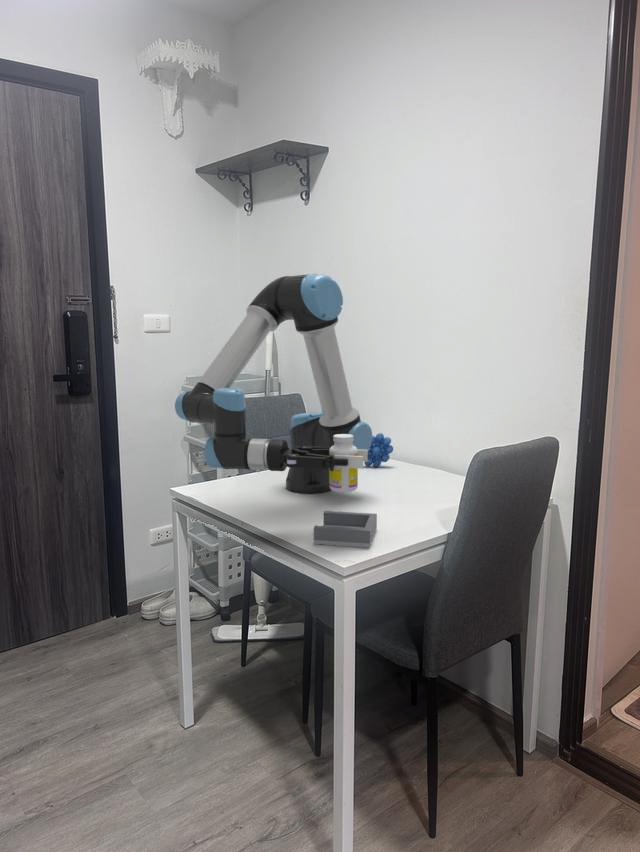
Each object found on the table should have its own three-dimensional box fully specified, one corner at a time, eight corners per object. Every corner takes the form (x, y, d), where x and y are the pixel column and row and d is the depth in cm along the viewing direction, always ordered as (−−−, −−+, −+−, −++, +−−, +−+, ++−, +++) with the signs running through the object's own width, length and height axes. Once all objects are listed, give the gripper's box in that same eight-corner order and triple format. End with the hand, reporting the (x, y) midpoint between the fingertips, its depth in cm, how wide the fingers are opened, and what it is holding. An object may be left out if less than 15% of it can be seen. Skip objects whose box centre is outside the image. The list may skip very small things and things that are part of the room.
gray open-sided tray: (313, 544, 148) (313, 527, 148) (324, 526, 161) (324, 510, 160) (369, 547, 146) (369, 530, 145) (376, 529, 158) (376, 513, 158)
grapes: (393, 464, 227) (393, 431, 225) (393, 469, 220) (393, 434, 218) (360, 464, 228) (360, 430, 226) (359, 468, 222) (359, 434, 220)
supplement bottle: (356, 485, 155) (357, 432, 153) (358, 492, 148) (359, 438, 146) (328, 485, 155) (328, 433, 152) (329, 493, 148) (329, 438, 146)
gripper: (280, 461, 164) (370, 465, 159) (257, 480, 145) (358, 485, 140) (280, 432, 163) (370, 435, 158) (256, 447, 144) (359, 451, 139)
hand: (365, 458), depth 149 cm, fingers closed on supplement bottle, 7 cm apart
